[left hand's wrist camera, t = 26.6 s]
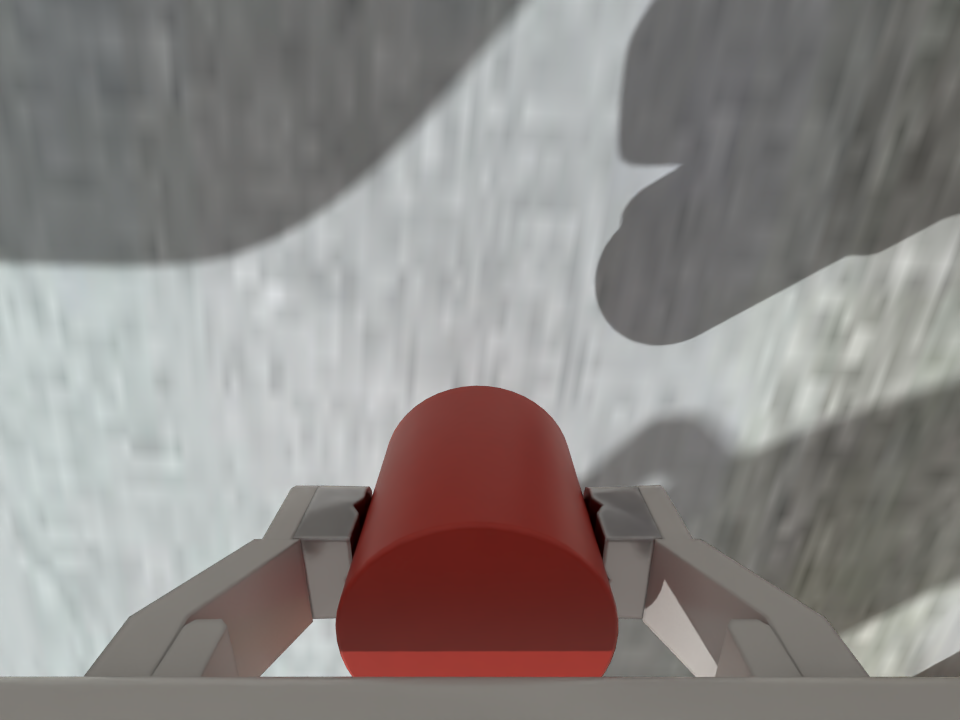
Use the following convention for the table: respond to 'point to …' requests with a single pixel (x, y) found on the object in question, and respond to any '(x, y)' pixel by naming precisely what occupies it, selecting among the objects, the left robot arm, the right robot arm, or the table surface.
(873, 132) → the table surface
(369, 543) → the canister
